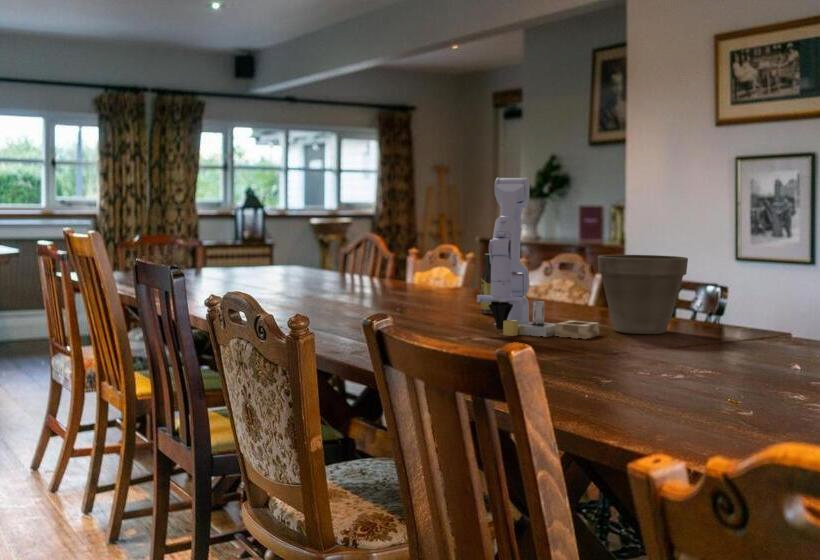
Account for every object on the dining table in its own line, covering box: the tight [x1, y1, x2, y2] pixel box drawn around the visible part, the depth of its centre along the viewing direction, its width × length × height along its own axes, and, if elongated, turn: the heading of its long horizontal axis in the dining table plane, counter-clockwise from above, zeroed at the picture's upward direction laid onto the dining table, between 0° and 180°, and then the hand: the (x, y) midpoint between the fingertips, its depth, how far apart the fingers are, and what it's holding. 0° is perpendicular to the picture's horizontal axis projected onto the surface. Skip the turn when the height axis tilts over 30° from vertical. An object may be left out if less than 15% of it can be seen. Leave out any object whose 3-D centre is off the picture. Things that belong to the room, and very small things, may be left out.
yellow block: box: [502, 320, 518, 337], centre depth 265 cm, size 3×3×4 cm
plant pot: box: [597, 254, 689, 335], centre depth 271 cm, size 25×25×22 cm
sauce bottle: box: [480, 253, 500, 315], centre depth 314 cm, size 6×6×20 cm
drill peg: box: [532, 300, 545, 326], centre depth 267 cm, size 3×3×9 cm
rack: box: [554, 320, 600, 340], centre depth 263 cm, size 9×9×4 cm
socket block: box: [517, 321, 556, 338], centre depth 267 cm, size 10×10×2 cm
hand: (500, 329), depth 266 cm, fingers closed
